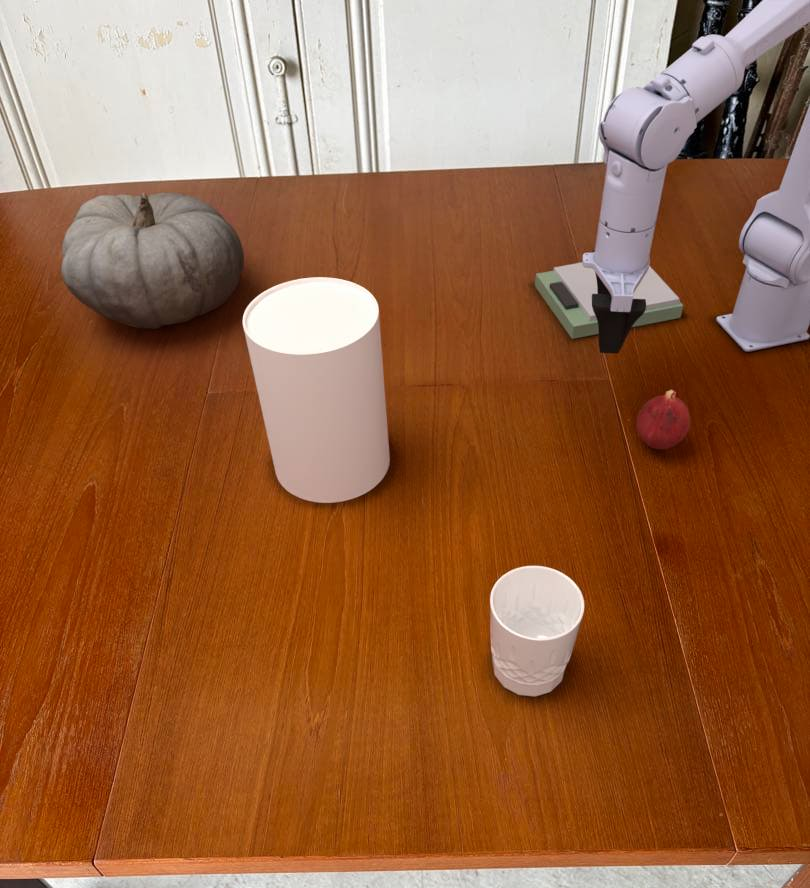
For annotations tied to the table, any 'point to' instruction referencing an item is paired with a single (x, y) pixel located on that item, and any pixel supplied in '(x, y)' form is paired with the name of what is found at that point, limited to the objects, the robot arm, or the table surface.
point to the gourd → (151, 258)
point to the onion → (663, 421)
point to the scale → (576, 285)
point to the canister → (320, 386)
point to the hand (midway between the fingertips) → (608, 331)
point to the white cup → (533, 628)
